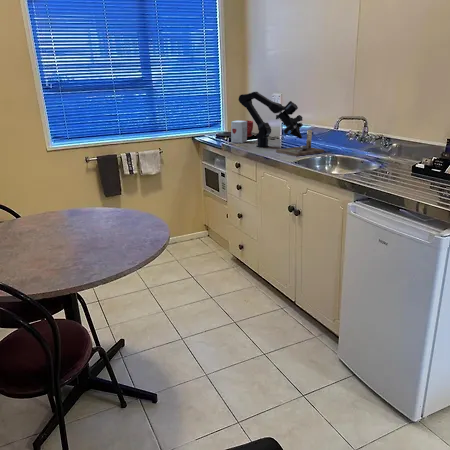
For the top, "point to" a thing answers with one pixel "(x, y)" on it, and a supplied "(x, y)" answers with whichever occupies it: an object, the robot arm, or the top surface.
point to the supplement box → (239, 131)
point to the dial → (308, 143)
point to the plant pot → (249, 128)
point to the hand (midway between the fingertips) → (301, 138)
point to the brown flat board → (303, 152)
